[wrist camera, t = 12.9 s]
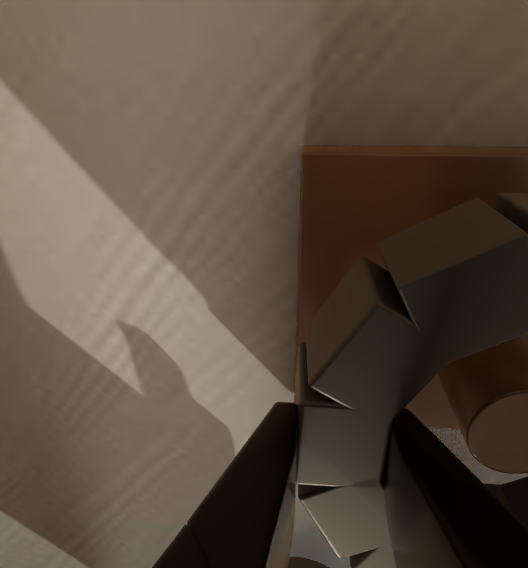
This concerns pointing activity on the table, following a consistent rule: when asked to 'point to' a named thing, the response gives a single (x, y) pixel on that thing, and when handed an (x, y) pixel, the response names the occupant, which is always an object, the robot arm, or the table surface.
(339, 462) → the ring
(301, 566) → the character figurine
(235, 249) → the table surface
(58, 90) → the table surface
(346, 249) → the stand
